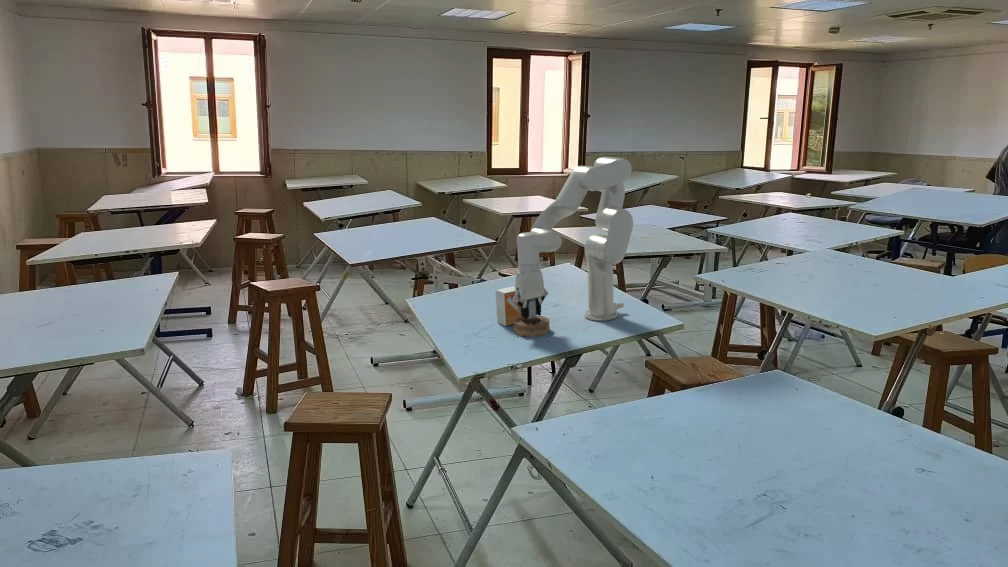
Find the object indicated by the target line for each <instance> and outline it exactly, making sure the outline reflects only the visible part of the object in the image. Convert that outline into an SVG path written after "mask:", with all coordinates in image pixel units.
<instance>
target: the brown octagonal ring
mask: <svg viewBox="0 0 1008 567" xmlns="http://www.w3.org/2000/svg"><path fill="white" fill-rule="evenodd" d="M513 330H514V334H516V335H519V336H520V337H530V338H531V337H532V338H533V337H534V338H535V337H540V336H543V335H548V333H549V331H550V318H547V317H545V316H543V315H540V316H539V315H537V323H534V324H526V319H525V318H523V317H520V318H517V319H516V320H515V322H514V324H513Z"/></svg>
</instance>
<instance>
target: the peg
mask: <svg viewBox="0 0 1008 567" xmlns="http://www.w3.org/2000/svg"><path fill="white" fill-rule="evenodd" d="M526 308H527V312H528V318H527V319H526V324H534V323H537V316H538V315H537V310H536V299H535V298H533V299H528V300H527V303H526Z"/></svg>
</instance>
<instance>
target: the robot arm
mask: <svg viewBox="0 0 1008 567" xmlns="http://www.w3.org/2000/svg"><path fill="white" fill-rule="evenodd" d="M631 175H632V164H631V163H630V162H629V161H628V160H627V159H625V158H622V157H612V156H602V157H598V158H597V159H596V160H595V161H594V163H593V166H591V165H589V166H588V165H578V166H575V167H574V168H573V169H572V170H571V172H570V173H569V176H568V178H567V179H566V181H565V182H564V184H563V186H562V188H561V189H560V192H559V194H558V195H557V197H556V198H555V200H554V201H553V202H552V203H550V204H549V205H548V206H547V207H546V208H545V209H544V210H543V211H542V212H541V213H540V214H539V216H537V218H536V220H535V222H534V223H533V225H532V227H531V228H530V231H527V232H521V233H519V234H517V237H516V246H517V261H518V262H517V265H518V267H517V268H518V271H516V273H515V279H514V280H515V281H514V282H515V283H514V287H515V295H514V297H513V299H512V301H513V302H515V303H517V304H518V305H519V306H520V307H521V316H522V317H523V318H525V319H527V318H528V312H527V308H526V303H527V300H528V299H533V298H535V299H536V310H537V316H542V305H543V301H544V300H545V298H546V297H547V296H548V295H549V292H548V290H546V288H545V282H544V278H543V272H542V269H541V268H540V267H541V266H543V263H542V261H540V253H552V252H555V251H557V250H559V249H560V248H561V247H562V243H563V242H562V237H561V235H560V234H559V233H557V231H554V230H553V228H554V227H555V226H556V224H558V222H560V221H561V220H562V219H564V218H565V219H566V217H569V216H572V215H573V214H575V213H576V212H577V211H578V209H579V208H580V205H581V204H582V202H583V200H584V199H585V197H586V195H587V194H588V191H589V192H597V191H601V195H600V199H599V200H600V201H599V204H598V208H597V211H596V214H595V222H594V223H595V226H596V228H598V230H600V231H602V232H606V233H607V235H605V234H602V233H601V234H600V233H598V234H597V233H595V234H592V235H590V236H589V237H588V238H587V239H586V241H585V243H584V254H585V259H586V267H587V291H588V292H587V294H588V295H587V296H588V298H587V302H588V310H587V311H585V312H584V317H585V318H586V319H587V320H591V321H600V322H603V321H611V320H615V319H616V318H618V317H619V312H618V311H617V310H618V309H623V308H624V307H625V304H624V303H623V302H619V303H617V302H614V301H615V300H614V293H615V292H614V267H613V265H617V264H619V263H621V262H622V261H623V259H624V258H625V256H626V253H627V251H628V247H629V243H630V239H631V236H632V233H633V228H634V218H633V216H632V214H631V212H630V211H629V210H628V209H625V208H623V207H624V206H623V205H624V202H625V201H624V200H625V196H626V194H625V193H626V189H625V184H624V182H626V181H627V180H628V179H629V178H630V176H631ZM518 298H520V301H519V300H518Z"/></svg>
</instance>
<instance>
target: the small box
mask: <svg viewBox="0 0 1008 567" xmlns="http://www.w3.org/2000/svg"><path fill="white" fill-rule="evenodd" d="M514 295H515V286H509V287H502V288H500V289H496V290H495V306H496V307H495V308H496V309H495V310H496V322H497V324H500V325H502V326H505V327H507V326H512V325H514V322H515V320H516V319H517V318H520V317H522V316H521V307H520V306H519V305H518V304H517V303H515V302H513V301H512V299H513V297H514ZM518 300H519V301H520V298H518Z"/></svg>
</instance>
